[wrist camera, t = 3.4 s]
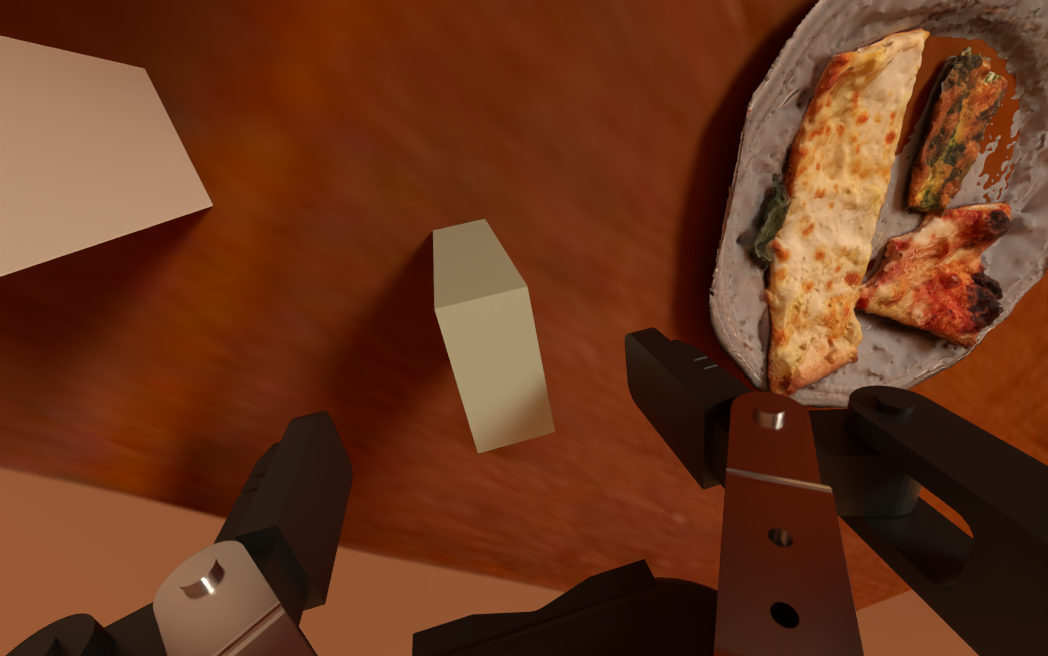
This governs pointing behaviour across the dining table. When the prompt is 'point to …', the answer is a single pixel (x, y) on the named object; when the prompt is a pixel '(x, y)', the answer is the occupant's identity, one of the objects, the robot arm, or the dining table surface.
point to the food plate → (881, 200)
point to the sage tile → (489, 336)
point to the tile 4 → (83, 155)
